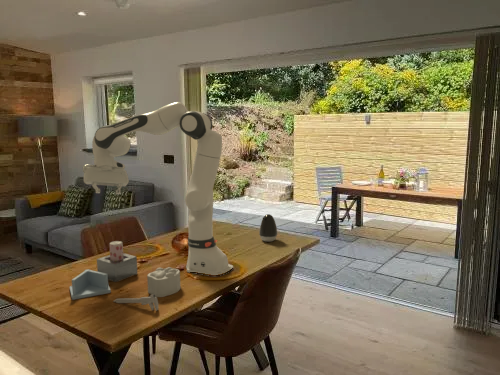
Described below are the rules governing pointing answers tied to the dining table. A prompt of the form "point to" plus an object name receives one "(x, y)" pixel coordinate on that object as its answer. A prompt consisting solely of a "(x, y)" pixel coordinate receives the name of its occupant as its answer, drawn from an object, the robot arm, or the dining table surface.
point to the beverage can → (116, 251)
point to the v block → (89, 284)
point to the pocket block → (118, 267)
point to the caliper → (141, 301)
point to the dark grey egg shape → (268, 228)
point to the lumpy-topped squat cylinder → (163, 282)
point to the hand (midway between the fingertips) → (108, 193)
